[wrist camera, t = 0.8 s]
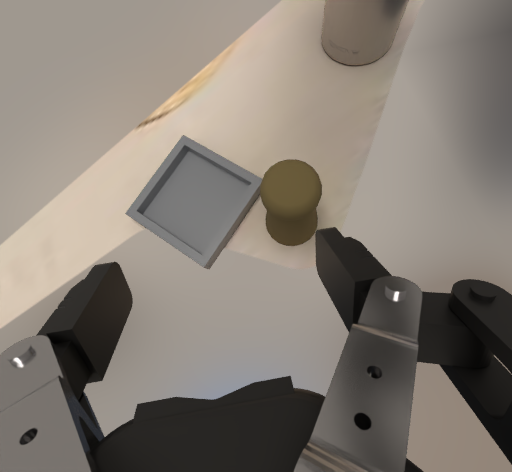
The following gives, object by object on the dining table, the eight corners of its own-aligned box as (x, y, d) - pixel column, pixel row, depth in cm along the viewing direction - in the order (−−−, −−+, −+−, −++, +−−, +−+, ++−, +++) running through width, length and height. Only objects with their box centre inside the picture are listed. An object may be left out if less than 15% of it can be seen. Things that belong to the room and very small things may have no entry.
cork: (268, 248, 32) (255, 222, 22) (263, 199, 34) (249, 153, 23) (321, 242, 32) (334, 213, 21) (313, 193, 33) (323, 142, 23)
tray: (188, 143, 37) (183, 134, 35) (264, 186, 34) (263, 179, 32) (134, 218, 36) (125, 213, 34) (209, 269, 33) (203, 267, 31)
